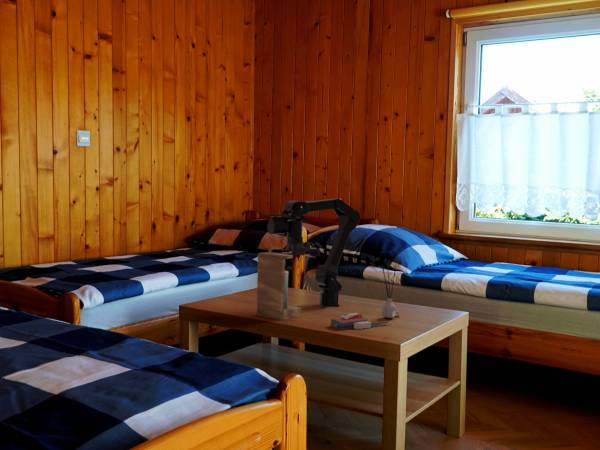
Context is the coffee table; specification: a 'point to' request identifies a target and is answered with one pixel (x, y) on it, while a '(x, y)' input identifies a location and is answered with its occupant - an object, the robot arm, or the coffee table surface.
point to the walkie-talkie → (353, 322)
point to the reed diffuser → (389, 301)
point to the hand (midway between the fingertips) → (293, 274)
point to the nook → (273, 287)
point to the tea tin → (286, 289)
